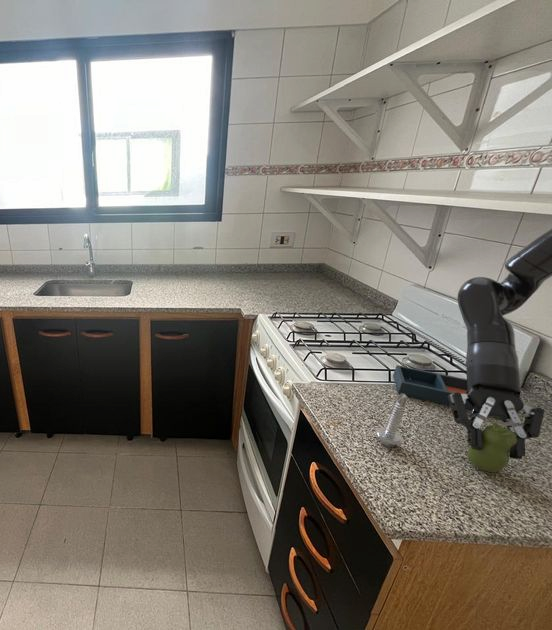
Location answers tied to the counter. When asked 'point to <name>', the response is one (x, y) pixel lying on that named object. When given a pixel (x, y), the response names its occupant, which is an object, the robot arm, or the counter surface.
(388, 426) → the screw
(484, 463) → the pear
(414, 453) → the counter surface
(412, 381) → the tray
